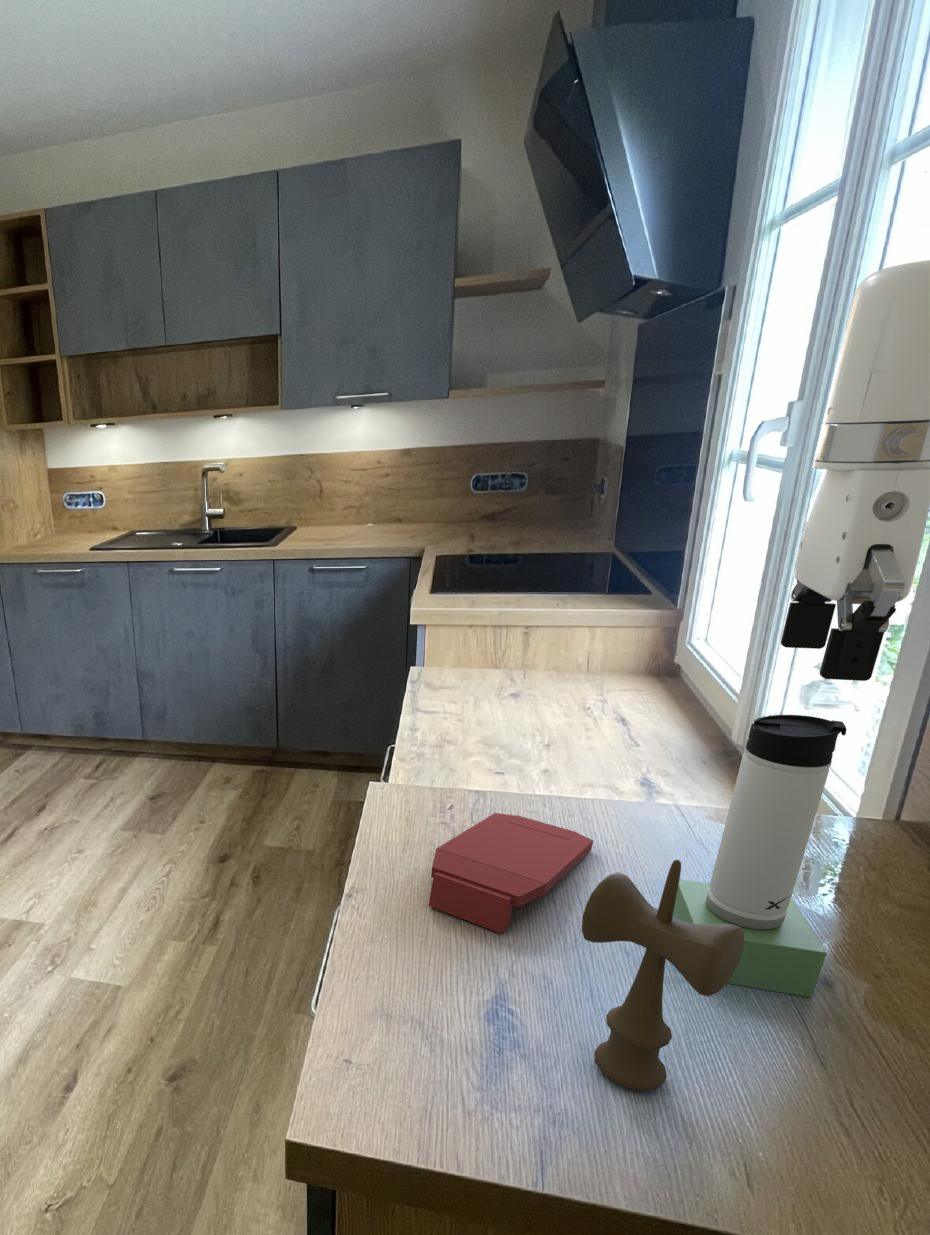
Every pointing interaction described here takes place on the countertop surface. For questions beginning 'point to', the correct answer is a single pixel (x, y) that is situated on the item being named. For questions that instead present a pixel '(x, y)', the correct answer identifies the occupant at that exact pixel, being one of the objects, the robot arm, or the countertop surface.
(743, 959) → the green block
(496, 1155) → the countertop surface
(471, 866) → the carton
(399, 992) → the countertop surface
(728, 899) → the travel mug
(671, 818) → the countertop surface
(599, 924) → the kendama
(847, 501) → the robot arm
